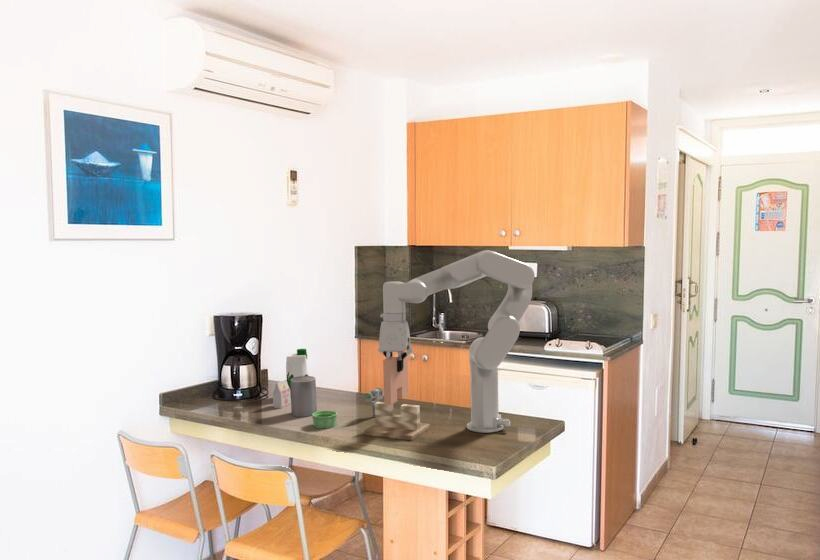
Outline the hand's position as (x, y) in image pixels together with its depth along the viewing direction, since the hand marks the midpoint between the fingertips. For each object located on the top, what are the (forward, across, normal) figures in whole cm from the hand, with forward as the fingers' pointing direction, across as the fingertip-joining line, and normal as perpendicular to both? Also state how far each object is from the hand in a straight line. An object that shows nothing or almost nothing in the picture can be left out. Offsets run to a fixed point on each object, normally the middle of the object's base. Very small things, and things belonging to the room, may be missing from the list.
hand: (395, 370), depth 238 cm
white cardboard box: (+22, -59, +16) cm, 65 cm away
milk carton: (+22, -62, +32) cm, 73 cm away
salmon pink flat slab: (+10, 0, 0) cm, 10 cm away
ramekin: (+22, -28, -2) cm, 35 cm away
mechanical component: (+22, -16, +14) cm, 30 cm away
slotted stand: (+21, 0, 0) cm, 21 cm away
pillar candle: (+22, -44, +9) cm, 50 cm away
